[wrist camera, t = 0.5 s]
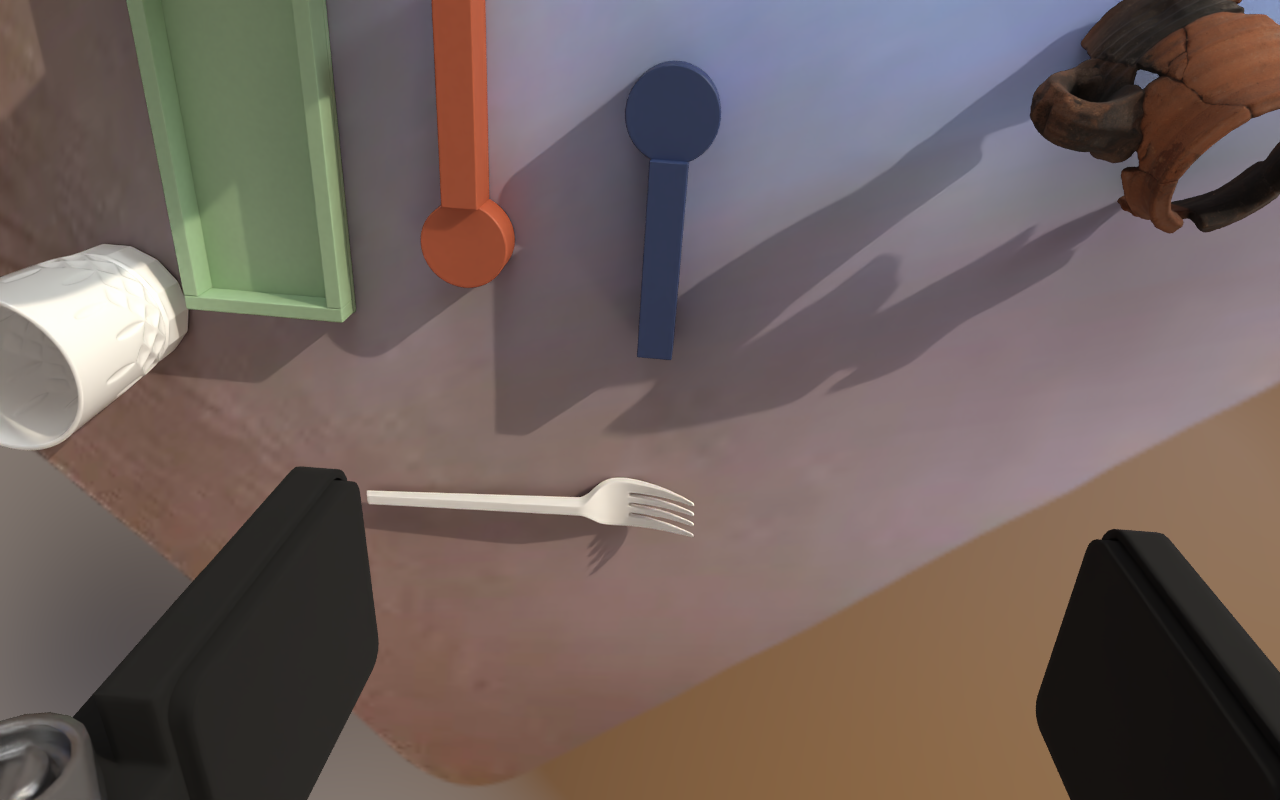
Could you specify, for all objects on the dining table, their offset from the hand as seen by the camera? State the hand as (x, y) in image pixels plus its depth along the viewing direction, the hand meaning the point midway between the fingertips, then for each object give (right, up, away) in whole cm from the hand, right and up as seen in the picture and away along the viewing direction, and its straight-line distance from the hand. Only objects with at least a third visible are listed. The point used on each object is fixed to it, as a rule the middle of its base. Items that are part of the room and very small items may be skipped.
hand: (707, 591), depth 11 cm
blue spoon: (+1, +13, +31) cm, 34 cm away
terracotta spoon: (-9, +15, +31) cm, 36 cm away
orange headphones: (+22, +16, +28) cm, 39 cm away
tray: (-20, +17, +31) cm, 41 cm away
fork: (-8, -3, +40) cm, 41 cm away
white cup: (-29, +8, +37) cm, 48 cm away
